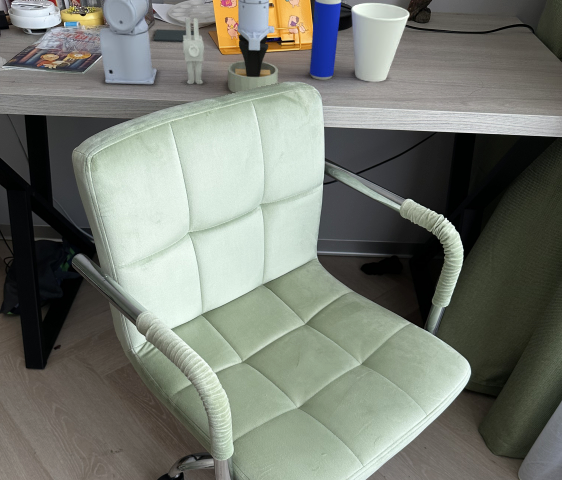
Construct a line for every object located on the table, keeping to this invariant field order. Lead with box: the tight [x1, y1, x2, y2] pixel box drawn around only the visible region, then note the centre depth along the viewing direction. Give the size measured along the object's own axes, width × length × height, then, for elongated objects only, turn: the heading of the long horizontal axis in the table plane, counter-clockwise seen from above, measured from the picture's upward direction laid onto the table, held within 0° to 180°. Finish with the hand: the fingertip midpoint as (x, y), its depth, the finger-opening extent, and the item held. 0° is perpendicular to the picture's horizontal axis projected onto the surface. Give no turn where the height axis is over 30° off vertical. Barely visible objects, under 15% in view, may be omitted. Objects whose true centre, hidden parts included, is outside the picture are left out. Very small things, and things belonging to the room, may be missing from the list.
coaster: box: [153, 28, 194, 43], centre depth 138 cm, size 9×8×1 cm
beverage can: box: [309, 0, 342, 81], centre depth 118 cm, size 5×5×15 cm
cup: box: [350, 2, 410, 83], centre depth 121 cm, size 12×12×12 cm
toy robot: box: [182, 17, 205, 85], centre depth 113 cm, size 4×8×12 cm, turn 9°
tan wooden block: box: [235, 69, 270, 77], centre depth 116 cm, size 7×3×3 cm, turn 93°
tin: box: [227, 60, 279, 93], centre depth 116 cm, size 10×10×4 cm
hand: (252, 78), depth 116 cm, fingers closed on tan wooden block, 2 cm apart
